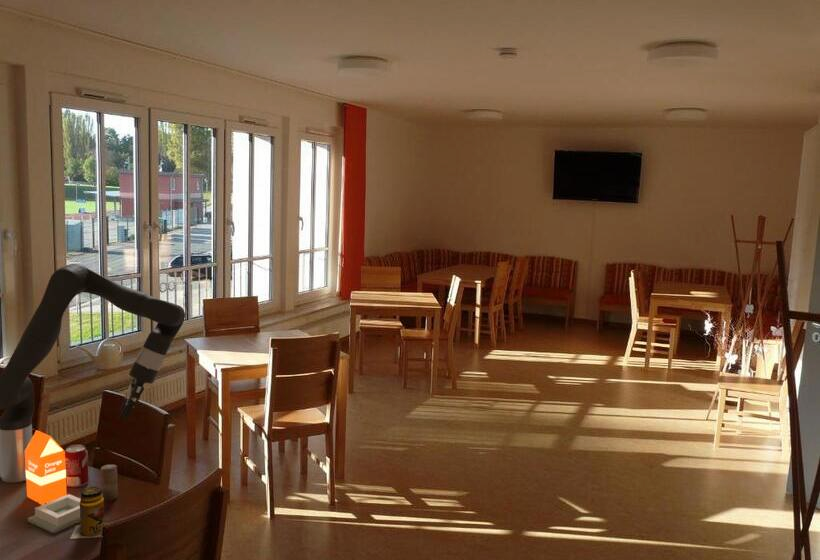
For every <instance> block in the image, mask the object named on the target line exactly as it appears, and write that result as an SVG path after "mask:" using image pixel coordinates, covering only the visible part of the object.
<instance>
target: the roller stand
mask: <svg viewBox="0 0 820 560" xmlns="http://www.w3.org/2000/svg"><path fill="white" fill-rule="evenodd" d="M80 501H81V497H77V496H75V495H72V494H70V493H68V494H67V495H66V496H63V497H61V498H58V499H56V500H53V501H51V502H48V503H46V504H43V505H41V504H40V505H39V506H36V507H34V515H32V516H29V517H28V518H27V522H28V523H30V524H33V525H34V524H35V525H34V526H37V527H39V528H41V529H43V530H46V531H48V532H50V533H53V534H55V533H58V532H60V531H62V530H64V529H66V528H69V527H71V526H74V525H75V523H76V524H77V523H80Z"/></svg>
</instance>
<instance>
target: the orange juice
mask: <svg viewBox="0 0 820 560" xmlns="http://www.w3.org/2000/svg"><path fill="white" fill-rule="evenodd" d="M24 452H25V466H26V480H25V481H26V496H27V498H29V499H31V500H32V501H34V502H36V503H37V502H38V503H37V504H40V506H41V505H43V504H45V503H48V502H51V501H53V500H56V499H58V498H61V497H63V496H66V495H68V494H67V486H66V469H65V452H66V449H65V450H64V449H63V447H61V446H60V444H58V443H57V442H56V440H55V439H54V438H53V437H52V436H51V435H49V434H46V433H44V432H42V431H41V430H40V431H39V430H37V429H36V430H35V432H34V434H32V439H31V440H30V442H29V444H28V446H27V448H26V449H25V451H24Z"/></svg>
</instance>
